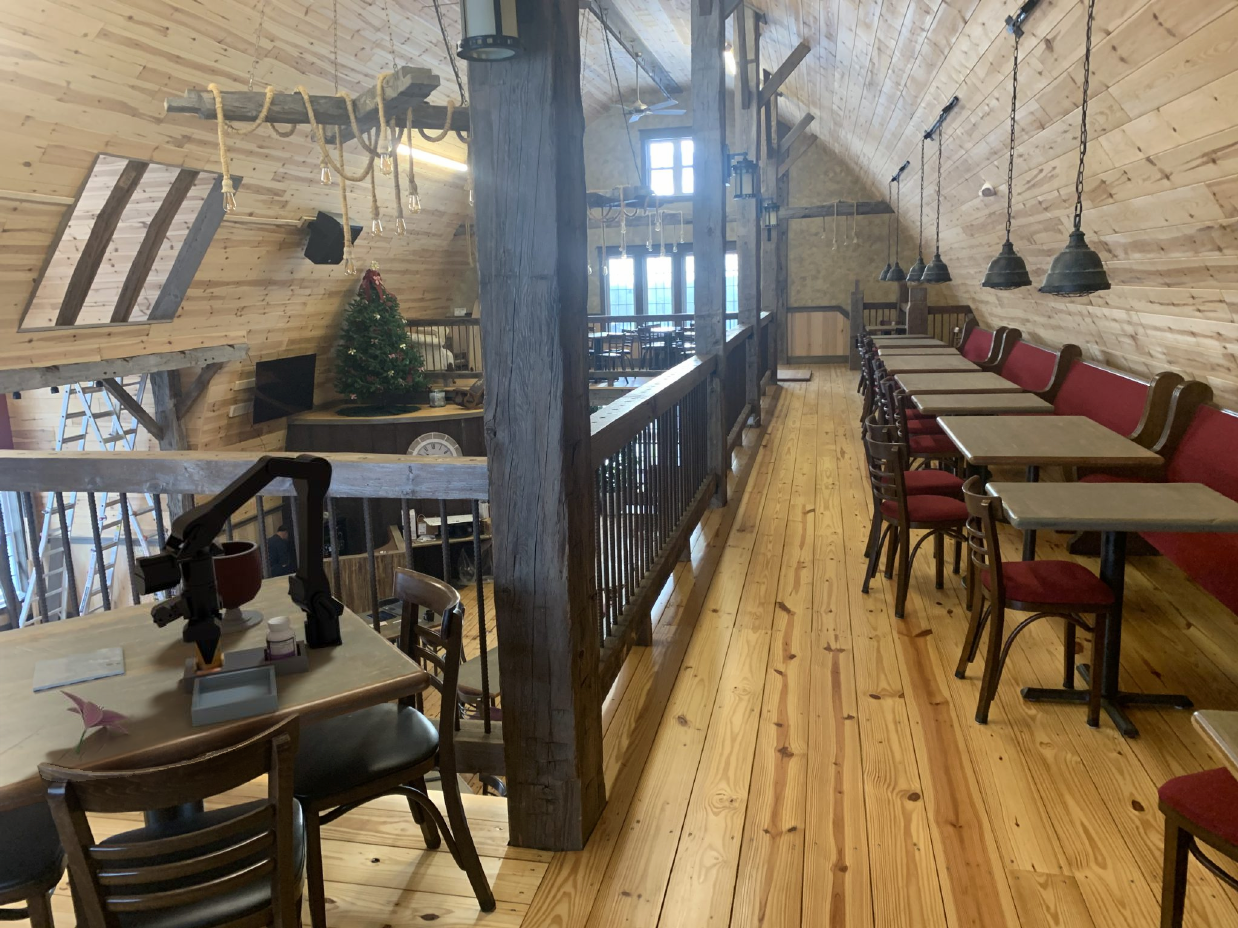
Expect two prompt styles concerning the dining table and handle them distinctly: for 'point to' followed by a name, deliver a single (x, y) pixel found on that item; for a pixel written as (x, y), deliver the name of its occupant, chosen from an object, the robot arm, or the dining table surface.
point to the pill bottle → (280, 639)
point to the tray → (234, 695)
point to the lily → (95, 715)
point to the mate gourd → (238, 583)
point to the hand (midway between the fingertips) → (208, 659)
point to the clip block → (247, 664)
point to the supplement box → (215, 662)
